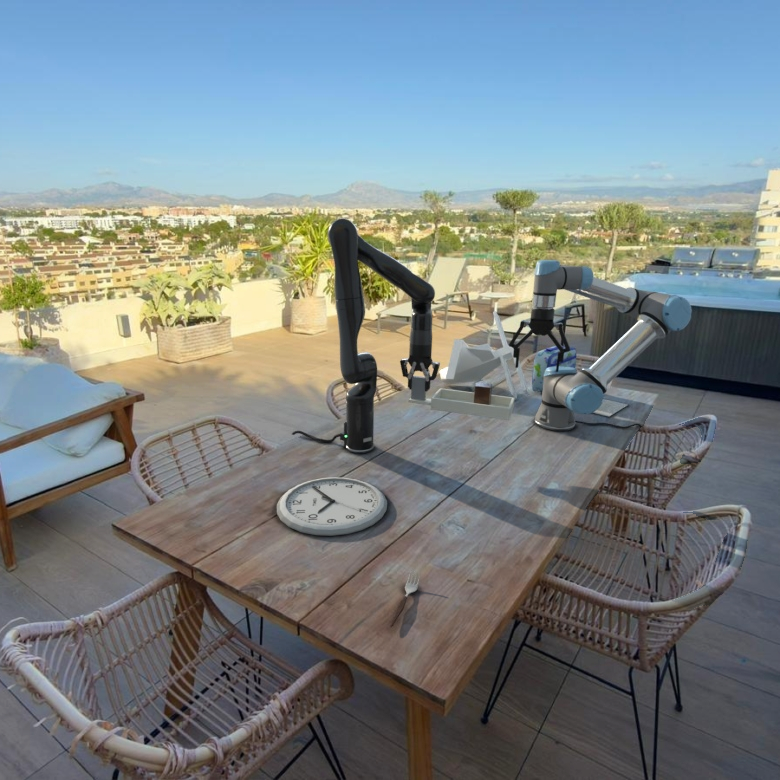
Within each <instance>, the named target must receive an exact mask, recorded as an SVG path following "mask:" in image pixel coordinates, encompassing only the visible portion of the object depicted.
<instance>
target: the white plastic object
mask: <svg viewBox="0 0 780 780" xmlns="http://www.w3.org/2000/svg"><path fill="white" fill-rule="evenodd" d="M492 315H493V319H494V321H495V324H496V325H495V326H496V328H497V332H498V335H499V338H500V342H501V345H502V347H500V348H498V349H496V350H495V349H493V348H492V347H491V346H490V344H489V343H488V342H487V343H483V344H479V345H473V346H469V345H468V343H466V342H465V340H464V339H463V338H460V339H458V338H454V340H453V344H452V349H451V353H450V357H449V362H448V366H446V367H444V368H442V369H440V370H439V369H438V373H439V376H440V381H442V383H443V384H444V385H445V386H449V385H458V384H467V383H468V384H469V383H473V384H477V382H482V381H484V378H485V377H486V376H487V375H489V374H490V373H492V372H494V371H495V370H496V369H497V368H499V367H500V366H502V370H503V373H504V376H505V380H506V383H507V386H508V390H509V393H510V394H511V395H512V397H513V398H515V400H517V392H516V391H517V390H516V388H515V385H514V381H513V378H512V375H511V371H510V369H509V365H508V361H510V360H513V363H514V366H516V358H514V357H513V352H514V349H513V348H512V347H510V346H509V343H508V341H507V337H506V334H505V331H504V328H503V325H502V321H501V318H500V315H499V314H498V312H497V311H496V310H495V311H492ZM522 368H523V367H522V366H521V362H520V361H519V364H518V368H515V369H516V372H517V376H518V380H519V382H520V385H521V389H522V391H523V393H524V395H525V396H526V397H528V396H531V395H530V390H529V388H528V387H529V386H528V384H527V381H526V378H525V375H524V371H523V369H522Z"/></svg>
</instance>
